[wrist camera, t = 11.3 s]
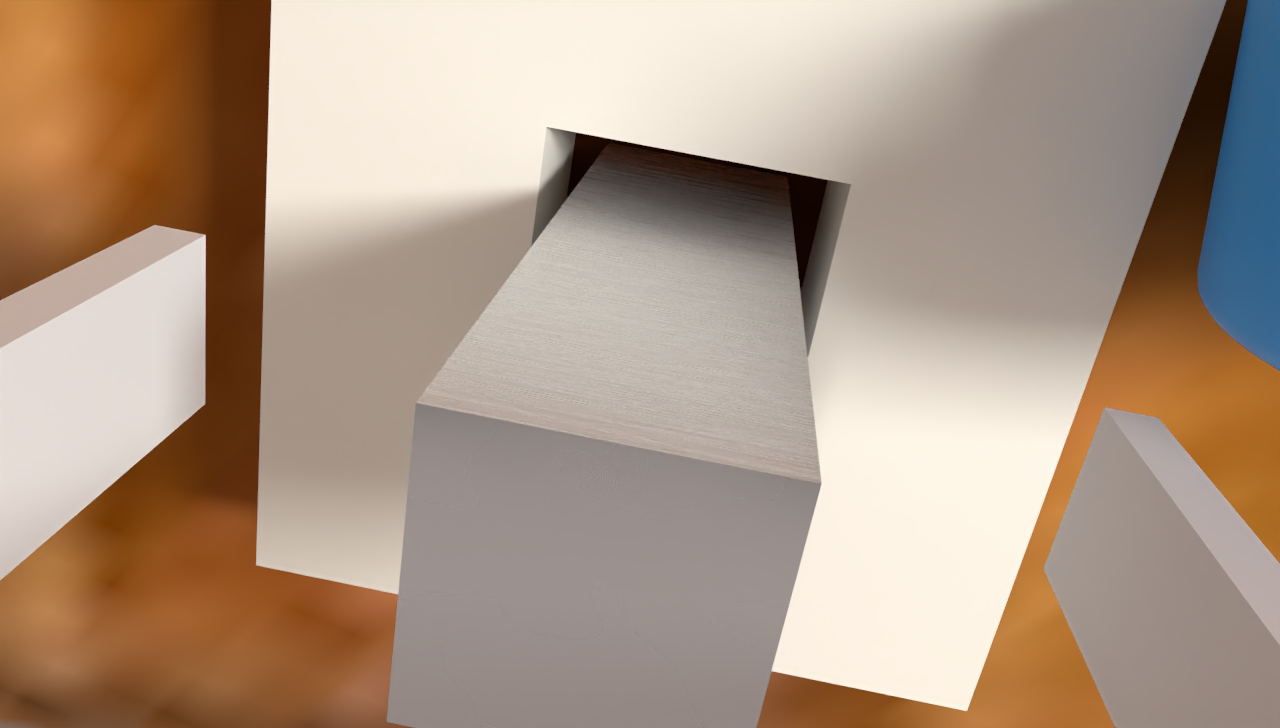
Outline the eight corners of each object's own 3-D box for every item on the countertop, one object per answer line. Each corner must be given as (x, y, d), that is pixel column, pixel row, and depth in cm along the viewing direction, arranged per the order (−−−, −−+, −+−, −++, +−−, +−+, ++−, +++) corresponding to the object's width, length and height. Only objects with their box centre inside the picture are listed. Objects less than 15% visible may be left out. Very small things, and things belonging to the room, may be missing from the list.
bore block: (324, 479, 27) (256, 565, 23) (363, -214, 21) (278, -247, 17) (938, 603, 27) (967, 710, 23) (1164, -72, 20) (1253, -74, 17)
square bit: (582, 311, 25) (386, 721, 12) (608, 143, 23) (415, 403, 10) (750, 343, 25) (738, 795, 12) (787, 176, 23) (821, 483, 10)
